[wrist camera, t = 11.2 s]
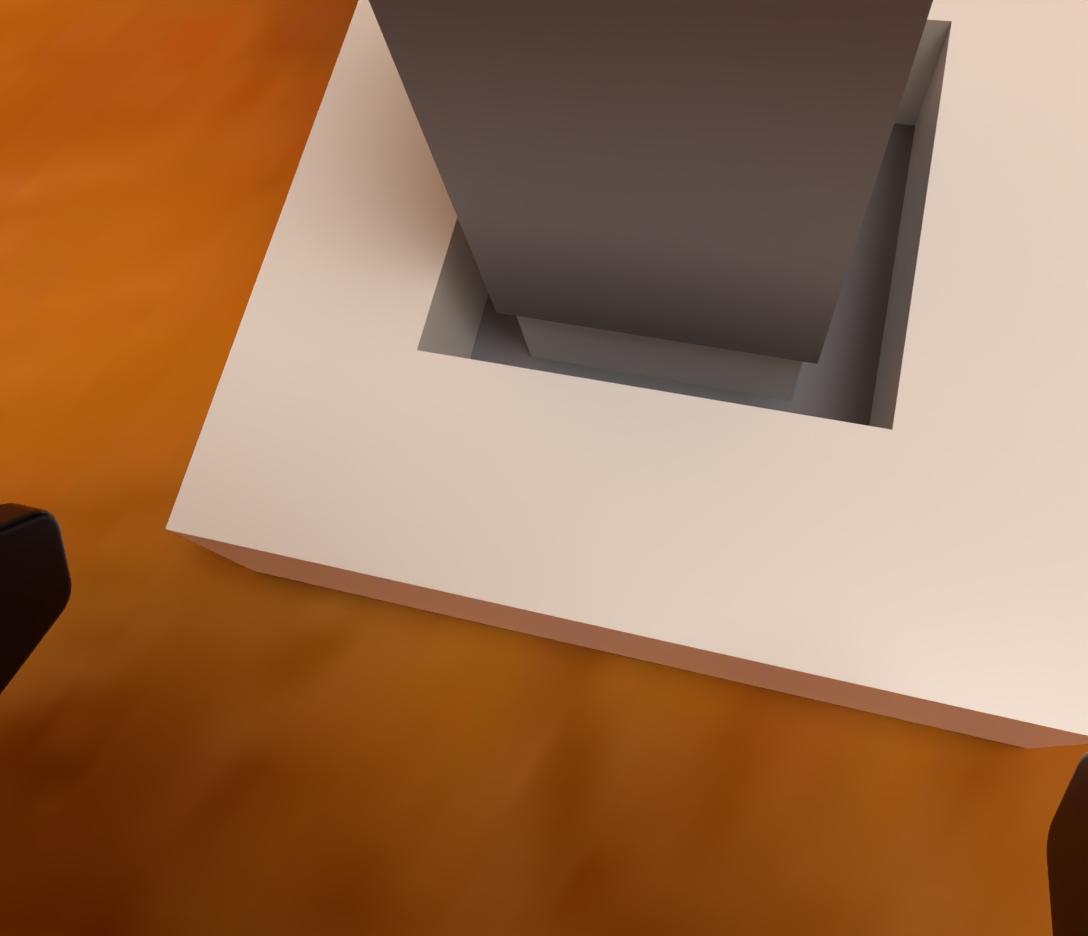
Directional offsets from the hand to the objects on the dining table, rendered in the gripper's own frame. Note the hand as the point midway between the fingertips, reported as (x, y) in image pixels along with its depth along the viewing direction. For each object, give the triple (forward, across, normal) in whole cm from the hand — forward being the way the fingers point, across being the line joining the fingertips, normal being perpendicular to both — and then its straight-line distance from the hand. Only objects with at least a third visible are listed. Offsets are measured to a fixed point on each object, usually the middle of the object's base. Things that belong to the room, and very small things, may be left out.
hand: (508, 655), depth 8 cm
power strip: (+14, 0, -3) cm, 14 cm away
